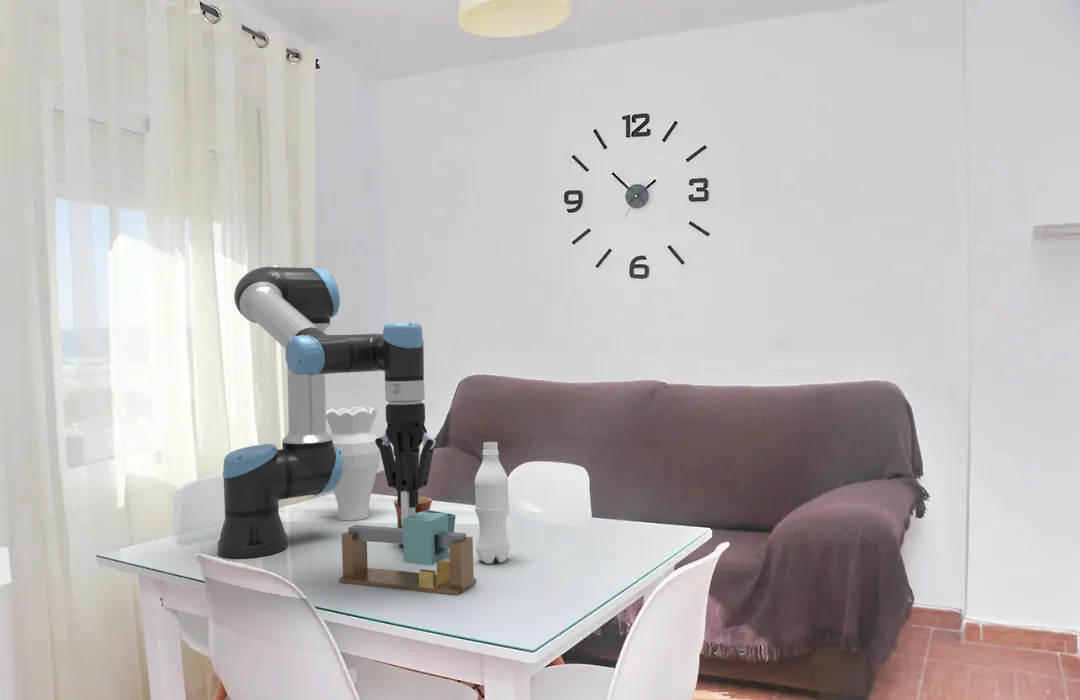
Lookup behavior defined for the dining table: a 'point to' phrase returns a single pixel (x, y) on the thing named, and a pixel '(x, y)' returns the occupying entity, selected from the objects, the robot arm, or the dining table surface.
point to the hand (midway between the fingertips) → (408, 523)
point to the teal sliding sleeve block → (424, 538)
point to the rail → (447, 581)
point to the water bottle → (492, 506)
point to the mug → (422, 506)
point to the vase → (354, 459)
